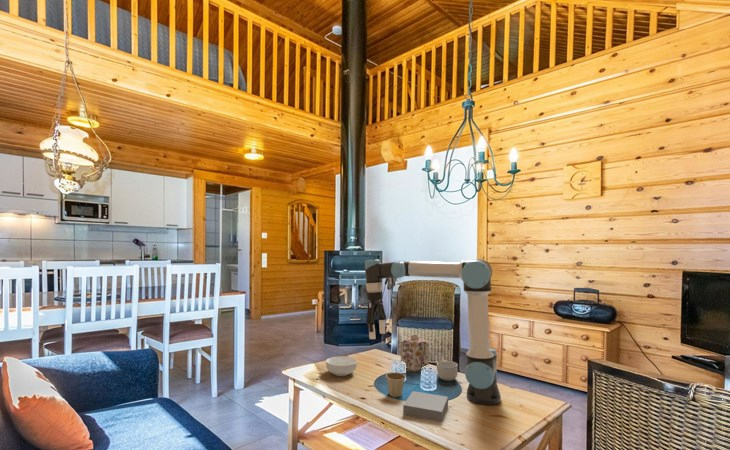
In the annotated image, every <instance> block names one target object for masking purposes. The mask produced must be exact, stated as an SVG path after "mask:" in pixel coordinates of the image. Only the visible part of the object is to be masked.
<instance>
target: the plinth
mask: <svg viewBox="0 0 730 450" xmlns="http://www.w3.org/2000/svg"><path fill="white" fill-rule="evenodd" d="M448 407H449V397H448V396H445V395H439V394H434V393H427V392H421V391H420V392H419V391H414V390H412V391H411V393H410V395H409V396H408V397H407V399H406V400H405V402H404V404H403V406H402V409H403V411H402V412H403V413H402V415H403V416H408V417H414V418H417V419H424V420H429V421H434V422H441V423H442V422H443V419H444V417H445V415H446V412H447V409H448Z"/></svg>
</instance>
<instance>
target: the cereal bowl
mask: <svg viewBox="0 0 730 450" xmlns="http://www.w3.org/2000/svg"><path fill="white" fill-rule="evenodd" d="M325 366H326V369H327V370H328V372H330V373H331V374H333V375H334V376H337V377H345V376H349V375H350V374H352V373H353V372H354V371H356V369H357V366H358V361H357V359H355V358H354V357H351V356H341V355H340V356H332V357H330V358H327V359H326V360H325Z"/></svg>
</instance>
